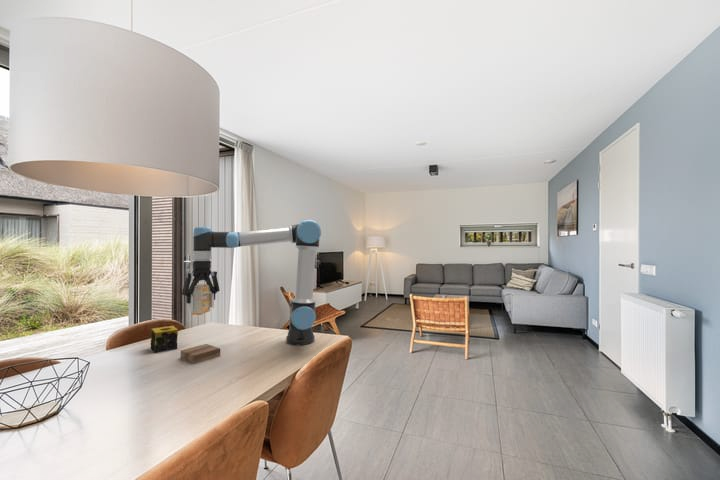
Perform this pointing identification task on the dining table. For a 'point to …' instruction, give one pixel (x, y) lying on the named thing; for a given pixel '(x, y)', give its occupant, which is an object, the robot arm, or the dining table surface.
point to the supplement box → (201, 299)
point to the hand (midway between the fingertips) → (201, 308)
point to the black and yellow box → (164, 339)
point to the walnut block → (200, 353)
